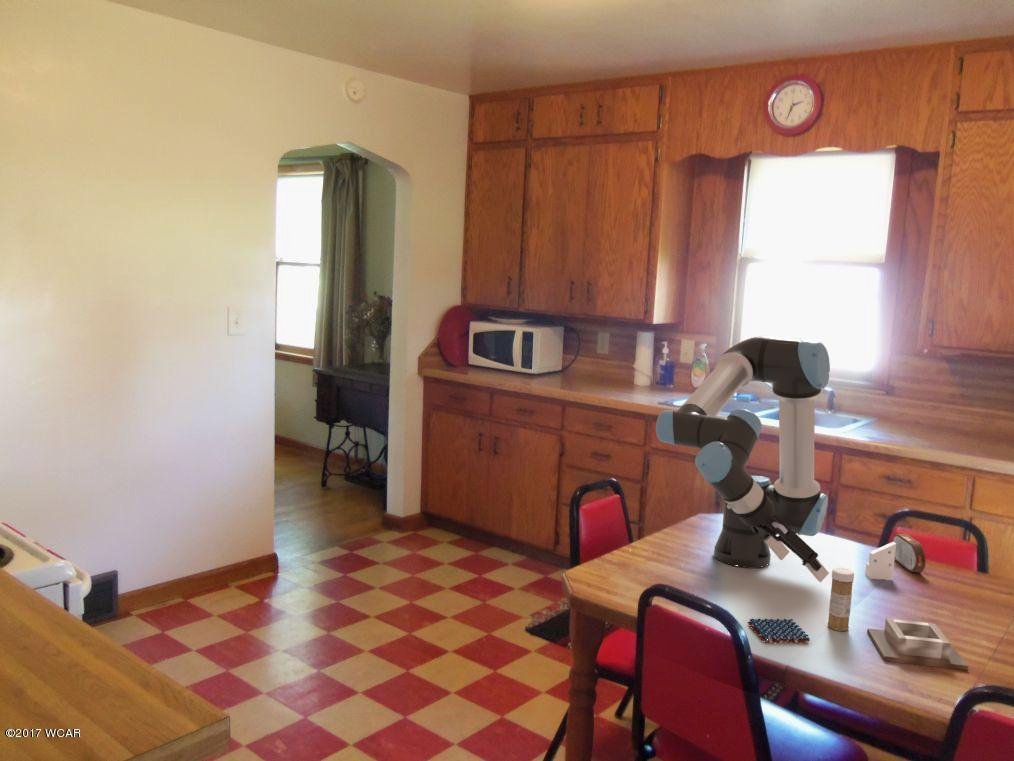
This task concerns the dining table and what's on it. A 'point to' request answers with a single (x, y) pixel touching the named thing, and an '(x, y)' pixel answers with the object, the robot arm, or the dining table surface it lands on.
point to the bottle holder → (915, 644)
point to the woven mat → (778, 631)
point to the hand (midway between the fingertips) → (803, 566)
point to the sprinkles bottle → (840, 599)
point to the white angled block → (881, 562)
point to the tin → (909, 553)
